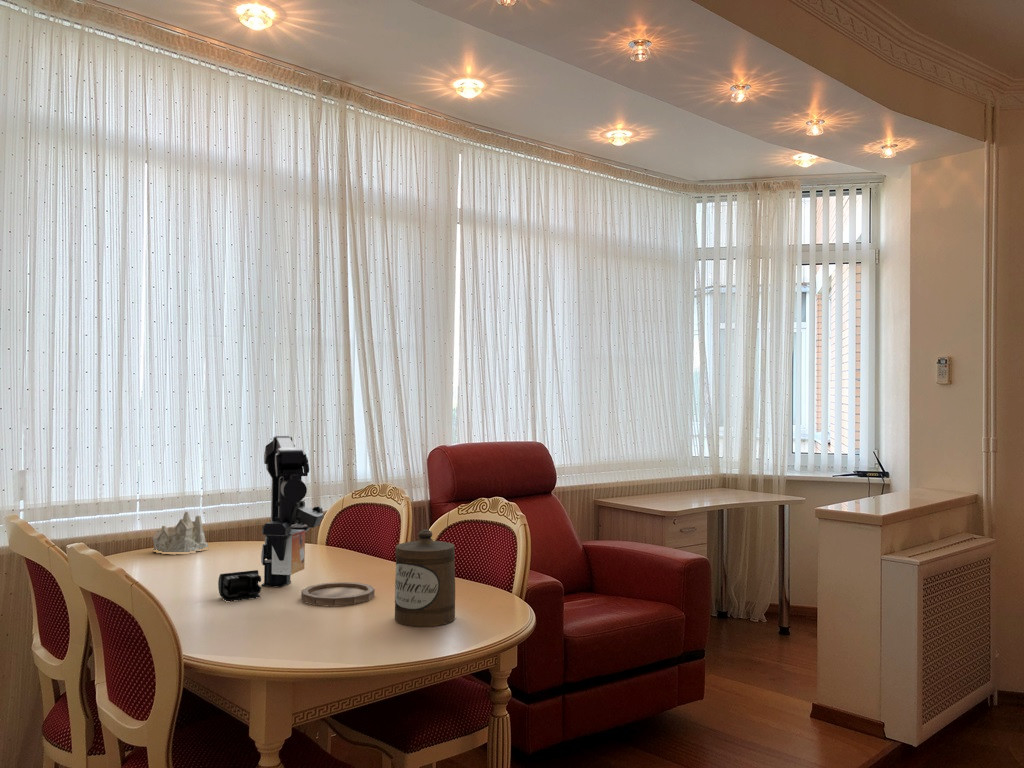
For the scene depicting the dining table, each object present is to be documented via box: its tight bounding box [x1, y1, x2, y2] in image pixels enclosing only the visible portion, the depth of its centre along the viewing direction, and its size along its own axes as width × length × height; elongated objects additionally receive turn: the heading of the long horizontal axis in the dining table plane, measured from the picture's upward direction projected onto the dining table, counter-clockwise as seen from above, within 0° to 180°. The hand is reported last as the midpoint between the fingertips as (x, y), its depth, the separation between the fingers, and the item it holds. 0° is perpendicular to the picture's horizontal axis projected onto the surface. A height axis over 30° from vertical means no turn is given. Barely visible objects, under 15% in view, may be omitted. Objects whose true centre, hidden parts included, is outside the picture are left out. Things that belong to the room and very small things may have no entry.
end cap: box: [217, 569, 262, 602], centre depth 221 cm, size 10×7×7 cm
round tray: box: [300, 581, 376, 607], centre depth 222 cm, size 19×19×2 cm
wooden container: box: [394, 528, 456, 628], centre depth 201 cm, size 15×15×22 cm
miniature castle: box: [152, 511, 209, 552], centre depth 288 cm, size 16×16×15 cm
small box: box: [272, 529, 306, 576], centre depth 212 cm, size 8×6×10 cm
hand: (288, 557), depth 212 cm, fingers closed on small box, 8 cm apart
